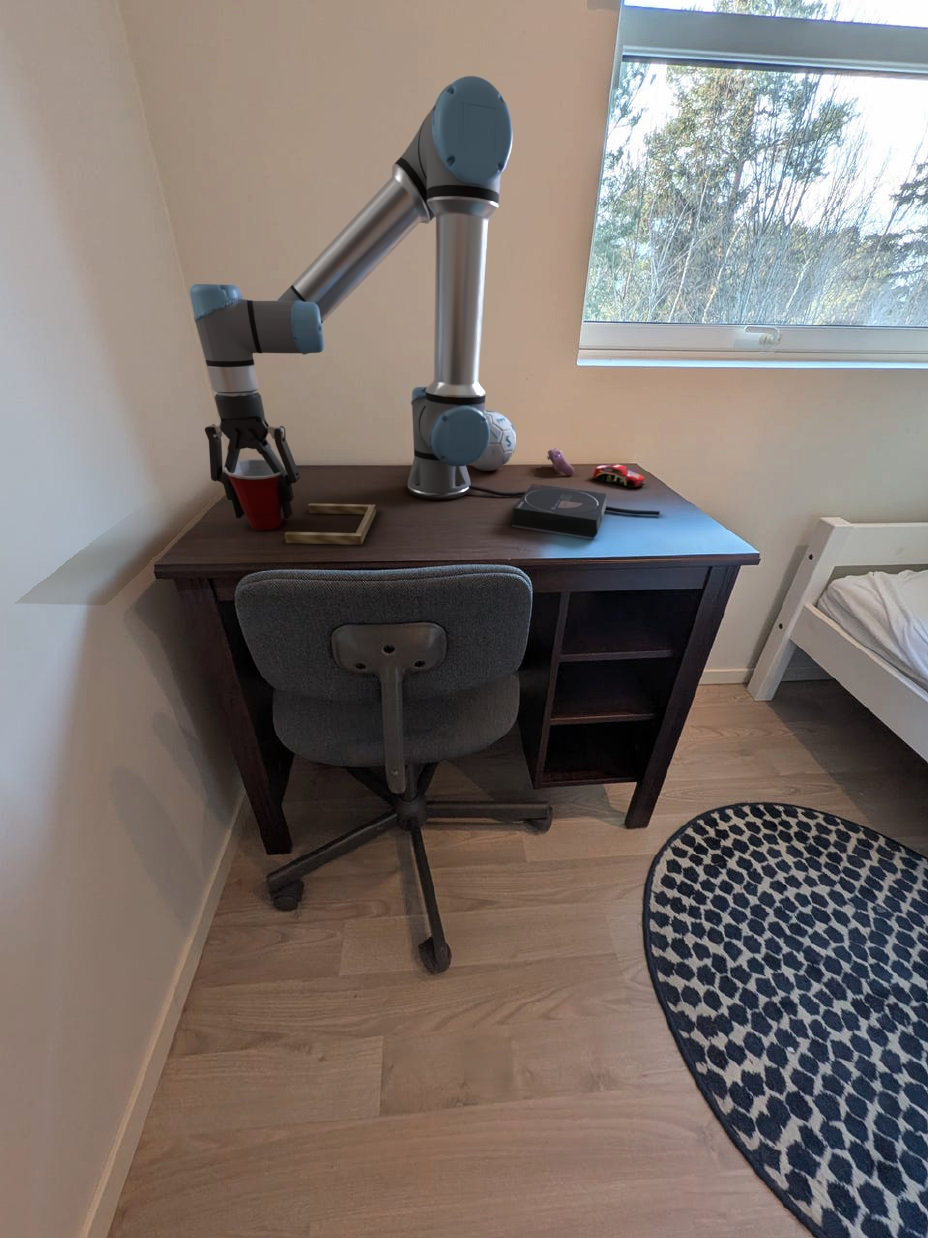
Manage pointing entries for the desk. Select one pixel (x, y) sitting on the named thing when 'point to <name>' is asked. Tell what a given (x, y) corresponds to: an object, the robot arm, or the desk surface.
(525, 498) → the portable cd player
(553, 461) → the purple animal figurine
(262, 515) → the plastic cup
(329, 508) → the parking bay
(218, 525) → the desk surface
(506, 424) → the puzzle ball
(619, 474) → the race car
